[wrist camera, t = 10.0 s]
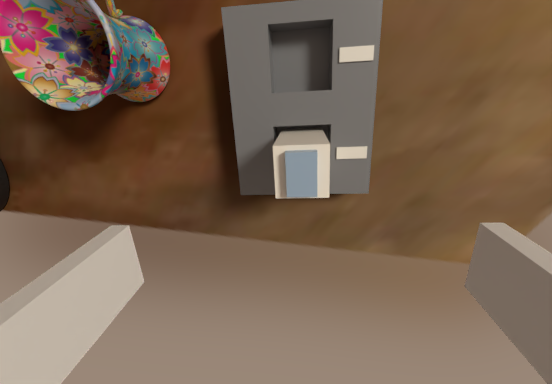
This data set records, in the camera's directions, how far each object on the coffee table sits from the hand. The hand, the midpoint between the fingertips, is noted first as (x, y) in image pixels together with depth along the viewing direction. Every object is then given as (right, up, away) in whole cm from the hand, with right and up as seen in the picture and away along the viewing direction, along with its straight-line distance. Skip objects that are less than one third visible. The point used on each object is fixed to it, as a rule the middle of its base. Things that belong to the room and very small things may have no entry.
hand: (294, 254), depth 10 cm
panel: (+2, +12, +19) cm, 23 cm away
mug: (-16, +18, +19) cm, 31 cm away
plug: (+2, +7, +20) cm, 22 cm away
